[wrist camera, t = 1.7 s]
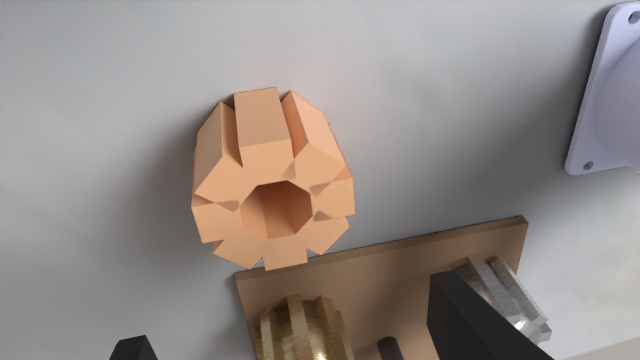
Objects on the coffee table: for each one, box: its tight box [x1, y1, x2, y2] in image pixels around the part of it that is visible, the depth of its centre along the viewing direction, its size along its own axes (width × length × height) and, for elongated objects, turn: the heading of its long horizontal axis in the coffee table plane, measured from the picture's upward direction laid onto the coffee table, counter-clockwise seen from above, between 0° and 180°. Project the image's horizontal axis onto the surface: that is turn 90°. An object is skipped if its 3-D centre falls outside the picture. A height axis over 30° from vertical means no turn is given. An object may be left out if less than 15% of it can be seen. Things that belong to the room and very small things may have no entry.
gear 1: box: [254, 293, 354, 360], centre depth 23 cm, size 5×5×4 cm
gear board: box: [235, 216, 528, 360], centre depth 25 cm, size 15×11×4 cm
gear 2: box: [441, 253, 552, 345], centre depth 24 cm, size 5×5×4 cm
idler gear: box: [191, 87, 355, 271], centre depth 17 cm, size 5×5×4 cm
